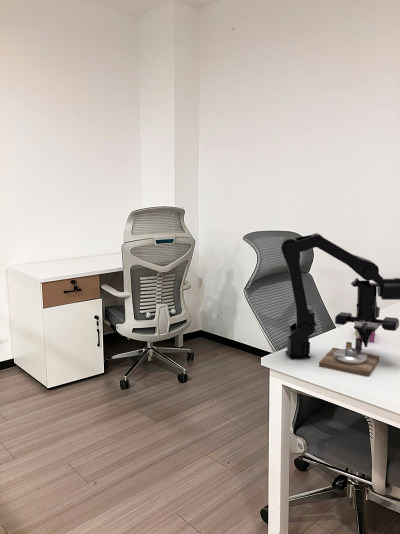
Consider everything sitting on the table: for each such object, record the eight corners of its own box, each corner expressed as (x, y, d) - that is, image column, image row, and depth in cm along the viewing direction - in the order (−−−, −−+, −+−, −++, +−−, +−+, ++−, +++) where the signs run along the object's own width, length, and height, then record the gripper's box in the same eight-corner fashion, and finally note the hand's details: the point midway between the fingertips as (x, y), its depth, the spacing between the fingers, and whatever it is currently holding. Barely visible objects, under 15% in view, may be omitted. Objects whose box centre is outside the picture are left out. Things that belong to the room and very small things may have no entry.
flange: (359, 367, 142) (360, 351, 141) (328, 358, 148) (329, 344, 147) (374, 355, 151) (375, 341, 150) (344, 348, 157) (345, 334, 156)
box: (374, 342, 168) (377, 310, 166) (358, 341, 169) (360, 310, 167) (370, 333, 178) (372, 303, 176) (354, 332, 179) (356, 302, 177)
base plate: (368, 376, 139) (370, 362, 138) (319, 366, 146) (319, 352, 146) (379, 360, 151) (380, 347, 150) (332, 351, 159) (333, 339, 158)
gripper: (403, 297, 151) (401, 344, 153) (344, 292, 161) (344, 336, 163) (396, 304, 142) (394, 354, 144) (334, 299, 152) (334, 345, 154)
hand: (365, 346), depth 152 cm, fingers closed
